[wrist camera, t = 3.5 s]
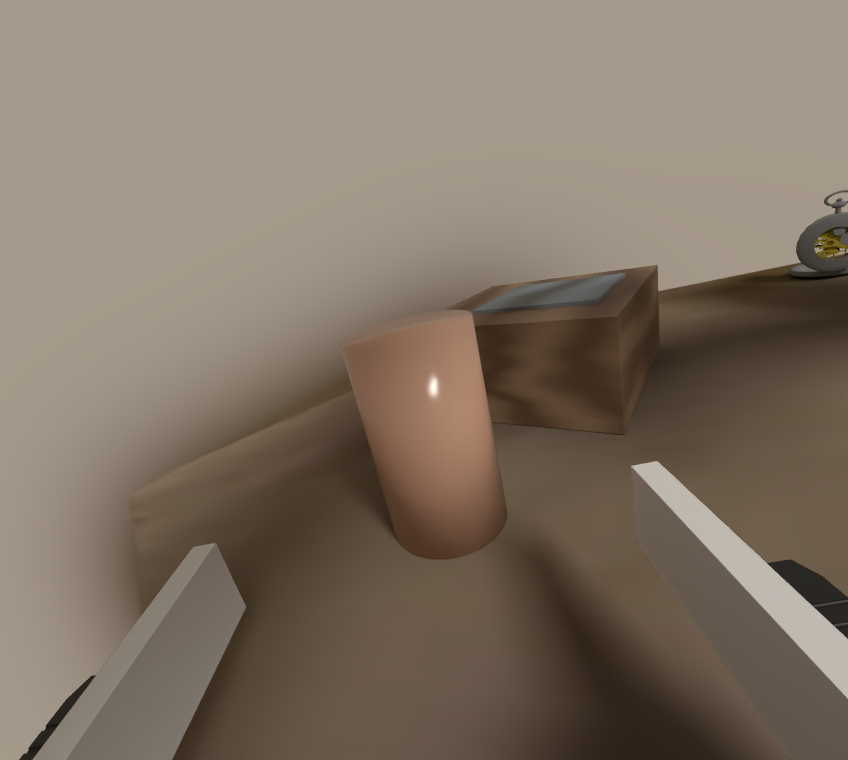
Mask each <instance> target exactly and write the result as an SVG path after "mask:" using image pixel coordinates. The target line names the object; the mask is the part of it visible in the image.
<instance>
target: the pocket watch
mask: <svg viewBox="0 0 848 760" xmlns="http://www.w3.org/2000/svg"><path fill="white" fill-rule="evenodd" d="M841 192H848V190H842V191H838V192H835V193H833V194H831V195H829V196H827V197H826V198H825V200H824V203H825V204H826V205H828V206H831V207H832V208H836V209H835V210H836V211H835V214H831V215H827V216H825V217H823V218H821V219H818V220H817V221H815V222H814V223H812V224H811V225H810V226H808V227H807V228H806V229H805V231H804V232H803V233H802V234H801V235H800V238H799V240H798V242H797V249H796V253H797V255H798V258H799V260H800V261H801V262H802V264H803V265H798V266H795V267H792V268H791V269H790V274H791V275H793V276H798V277H808V278H809V277H812V278H813V277H829V276H836V275H843V274H848V253H846V249H848V212H841V207H844V206H845V205H846V204H847V203H848V201H846V202H845V201H841V200H842V199H841V198H839V199H837V200H836V201H838V202H835V203H833V204H830V203H828V201H827V200H828V199H829V198H830V197H831V196H832V195H835V194H837V193H841ZM819 237H821V238H825V240H823V239H822V240H817V239H818V238H819ZM819 241H821V242H820V243H821V244H823V243H822V241H823V242H825V243H824V244H823V245H819V244H818V243H819ZM815 244H818V245H815ZM814 248H820V249H821V248H824V250H823V251H821V252H818V253H816V252H815V250H814ZM839 248H845V250H843V251H845V253H846V254H845V253H844V255H843V256H841V257H838V258H834V254H837V253H838V252H841V251H840V250H839ZM824 253H825V255H824V256H823V254H824ZM821 254H822V255H821ZM832 254H833V258H831V259H826V257H827V256H829V255H832Z"/></svg>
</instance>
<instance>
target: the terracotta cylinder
mask: <svg viewBox="0 0 848 760" xmlns="http://www.w3.org/2000/svg"><path fill="white" fill-rule="evenodd" d="M340 347H341V351H342V354H343V357H344V361H345V364H346V368H347V371H348V375H349V378H350V381H351V385H352V388H353V392H354V395H355V399H356V402H357V405H358V409H359V412H360V416H361V419H362V422H363V426H364V429H365V433H366V436H367V440H368V443H369V446H370V450H371V453H372V457H373V460H374V464H375V467H376V470H377V474H378V477H379V481H380V484H381V487H382V491H383V494H384V498H385V501H386V505H387V508H388V511H389V515H390V518H391V522H392V525H393V529H394V532H395V535H396V538H397V540H398V542H399V543H400V545H401V546H402V547H403V548H404V549H406V550H407V551H409V552H410V553H412V554H414V555H417V556H420V557H423V558H429V559H451V558H457V557H461V556H465V555H468V554H470V553H473V552H475V551H477V550H479V549H481V548H483V547H484V546H486V545H487V544H489V543H490V542H491V541H492V540H494V538H495V537H496V536H497V535H498V534H499V533H500V532H501V530H502V528H503V527H504V525H505V522H506V518H507V508H506V502H505V496H504V491H503V485H502V479H501V474H500V468H499V462H498V457H497V451H496V446H495V440H494V434H493V429H492V423H491V417H490V412H489V406H488V401H487V395H486V389H485V384H484V378H483V372H482V367H481V361H480V356H479V350H478V344H477V339H476V333H475V327H474V322H473V316H472V313H471V312H469V311H465V310H442V311H433V312H427V313H420V314H415V315H411V316H405V317H401V318H397V319H393V320H389V321H386V322H382V323H379V324H376V325H373V326H370V327H367V328H365V329H362V330H360V331H357V332H355V333H353V334H351V335H349V336H348V337H346V338H344V339H343V340H342V341H341V342H340Z"/></svg>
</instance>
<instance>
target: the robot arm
mask: <svg viewBox="0 0 848 760" xmlns="http://www.w3.org/2000/svg"><path fill="white" fill-rule="evenodd" d="M631 471H632V489H633V507H634V524H635V540H636V542H637V543H638V544H639V546H640V547H641V549H642V550H643V551H644V553H645V554H646V556H647V557H648V558H649V560H650V561H651V563H652V564H653V565H654V567H655V568H656V570H657V571H658V572H659V574H660V575H661V577H662V578H663V579H664V581H665V582H666V584H667V585H668V586H669V588H670V589H671V591H672V592H673V593H674V595H675V596H676V598H677V599H678V600H679V602H680V603H681V605H682V606H683V607H684V609H685V610H686V612H687V613H688V614H689V616H690V617H691V619H692V620H693V621H694V623H695V624H696V626H697V627H698V628H699V630H700V631H701V633H702V634H703V635H704V637H705V638H706V640H707V641H708V642H709V644H710V645H711V647H712V648H713V649H714V651H715V652H716V654H717V655H718V656H719V658H720V659H721V661H722V662H723V663H724V665H725V666H726V668H727V669H728V670H729V672H730V673H731V675H732V676H733V677H734V679H735V680H736V682H737V683H738V684H739V686H740V687H741V689H742V690H743V691H744V693H745V694H746V696H747V697H748V698H749V700H750V701H751V703H752V704H753V706H754V707H755V708H756V710H757V711H758V713H759V714H760V715H761V717H762V718H763V720H764V721H765V722H766V724H767V725H768V727H769V728H770V729H771V731H772V732H773V734H774V735H775V736H776V738H777V739H778V741H779V742H780V743H781V745H782V746H783V748H784V749H785V750H786V752H787V753H788V755H789V756H790V757H791V759H792V760H848V597H847V596H845V595H844V594H843V593H842V592H841V591H839V590H838V589H837V588H836V587H835V586H833V585H832V584H831V583H830V582H829V581H827V580H826V579H825V578H824V577H823V576H821V575H819V574H817V573H815V572H813V571H811V570H810V569H808V568H806V567H804V566H802V565H800V564H798V563H796V562H794V561H793V560H791V559H790V560H784V561H778V562H772V563H766V562H765V561H764V560H763V559H761V558H760V557H759V556H758V555H757V554H756V553H755V552H754V551H753V550H752V549H751V548H750V547H749V546H748V545H747V544H745V543H744V542H743V541H742V540H741V539H740V538H739V537H738V536H737V535H736V534H735V533H734V532H733V531H732V530H730V529H729V528H728V527H727V526H726V525H725V524H724V523H723V522H722V521H721V520H720V519H719V518H718V517H717V516H715V515H714V514H713V513H712V512H711V511H710V510H709V509H708V508H707V507H706V506H705V505H704V504H703V503H702V502H700V501H699V500H698V499H697V498H696V497H695V496H694V495H693V494H692V493H691V492H690V491H689V490H688V489H687V488H685V487H684V486H683V485H682V484H681V483H680V482H679V481H678V480H677V479H676V478H675V477H674V476H673V475H672V474H670V473H669V472H668V471H667V470H666V469H665V468H664V467H663V466H662V465H661V464H660V463H659V462H658V461H656V462H651V463H645V464H640V465H634V466H631ZM245 608H246V605H245V603H244V601H243V599H242V597H241V595H240V593H239V591H238V589H237V586H236V584H235V582H234V580H233V578H232V576H231V574H230V572H229V570H228V567H227V565H226V563H225V561H224V559H223V557H222V555H221V553H220V551H219V548H218V546H217V544H216V543H212V544H206V545H201V546H196V547H193V548H192V549H191V551H190V552H189V553H188V555H187V556H186V557H185V559H184V560H183V561H182V563H181V564H180V565H179V567H178V568H177V569H176V571H175V572H174V573H173V574H172V576H171V577H170V578H169V580H168V581H167V582H166V584H165V585H164V586H163V588H162V589H161V590H160V592H159V593H158V594H157V596H156V597H155V598H154V600H153V601H152V602H151V604H150V605H149V606H148V608H147V609H146V610H145V612H144V613H143V614H142V616H141V617H140V618H139V619H138V621H137V622H136V624H135V625H134V626H133V627H132V629H131V630H130V631H129V633H128V634H127V635H126V637H125V638H124V640H123V641H122V642H121V643H120V645H119V646H118V647H117V649H116V650H115V652H114V653H113V654H112V655H111V657H110V658H109V659H108V661H107V662H106V663H105V665H104V666H103V667H102V669H101V670H100V671H99V673H98V674H97V675H95V676H91V677H90V678H89V679H88V680H87V681H86V682H84V683H83V684H82V685H81V686H80V687H79V688H78V689H77V690H76V691H75V692H74V693H73V694H72V695H71V696H70V697H68V699H67V700H66V701H65V702H64V703H63V705H62V706H61V707H60V708H59V710H58V711H57V712H56V713H55V715H54V716H53V717H52V719H51V720H50V721H49V722H48V724H47V725H46V729H45V730H44V731H41V733H40V734H39V735H38V737H37V738H36V739H35V740H34V742H33V743H32V744H31V746H30V747H29V751H28V752H27V753H26V754H23V756H22V757H21V758H20V759H19V760H172V759H173V757H174V755H175V753H176V751H177V748H178V746H179V744H180V742H181V740H182V738H183V736H184V734H185V732H186V730H187V728H188V726H189V724H190V722H191V720H192V718H193V716H194V713H195V711H196V709H197V707H198V705H199V703H200V701H201V699H202V697H203V695H204V693H205V691H206V689H207V687H208V685H209V683H210V681H211V678H212V676H213V674H214V672H215V670H216V668H217V666H218V664H219V662H220V660H221V658H222V656H223V654H224V652H225V650H226V648H227V646H228V643H229V641H230V639H231V637H232V635H233V633H234V631H235V629H236V627H237V625H238V623H239V621H240V619H241V617H242V615H243V613H244V611H245Z"/></svg>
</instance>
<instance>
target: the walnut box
mask: <svg viewBox="0 0 848 760" xmlns="http://www.w3.org/2000/svg"><path fill="white" fill-rule="evenodd" d="M445 310H465V311H469V312H471V313H472V316H473V322H474V327H475V333H476V339H477V344H478V350H479V356H480V361H481V367H482V372H483V378H484V384H485V389H486V395H487V401H488V406H489V412H490V417H491V422H497V423H507V424H518V425H528V426H539V427H549V428H560V429H571V430H581V431H592V432H602V433H613V434H623V435H624V434H625V431H626V429H627V426H628V424H629V422H630V419H631V417H632V414H633V412H634V409H635V407H636V404H637V402H638V399H639V397H640V394H641V392H642V390H643V387H644V385H645V382H646V380H647V377H648V375H649V372H650V370H651V367H652V365H653V362H654V360H655V357H656V355H657V353H658V350H659V348H660V341H659V303H658V266H657V265H655V266H647V267H640V268H632V269H624V270H617V271H609V272H601V273H594V274H586V275H578V276H570V277H563V278H555V279H547V280H540V281H532V282H524V283H517V284H509V285H502V286H493V287H490V288H489V289H486V290H484V291H482V292H480V293H478V294H476V295H474V296H472V297H470V298H468V299H466V300H464V301H461V302H459V303H457V304H456V305H453V306H451V307H449V308H447V309H445Z"/></svg>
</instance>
